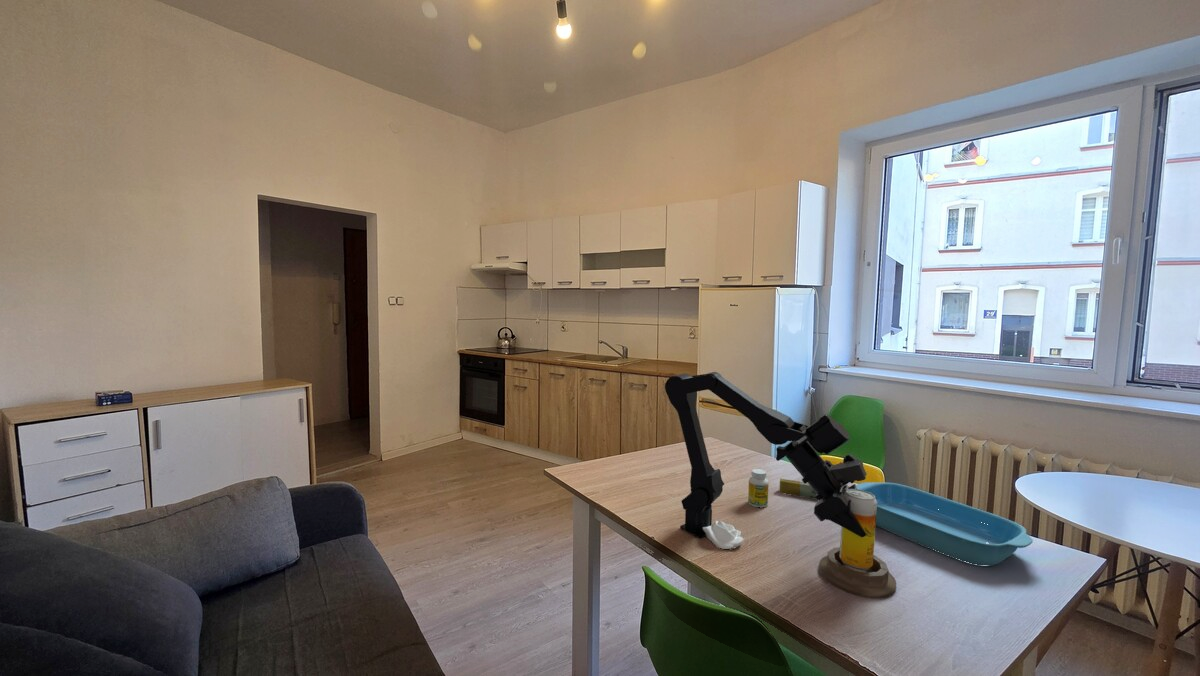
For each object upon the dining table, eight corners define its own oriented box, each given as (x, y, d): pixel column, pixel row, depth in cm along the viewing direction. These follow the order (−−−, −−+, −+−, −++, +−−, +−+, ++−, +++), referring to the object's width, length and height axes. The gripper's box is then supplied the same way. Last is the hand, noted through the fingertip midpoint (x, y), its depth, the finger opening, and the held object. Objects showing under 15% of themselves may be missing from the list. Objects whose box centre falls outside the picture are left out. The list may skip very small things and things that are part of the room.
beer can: (874, 575, 92) (879, 502, 91) (839, 567, 94) (844, 496, 93) (870, 560, 97) (875, 491, 96) (838, 553, 100) (842, 485, 99)
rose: (695, 523, 109) (710, 509, 117) (694, 541, 109) (709, 525, 117) (737, 536, 103) (750, 520, 111) (736, 555, 104) (749, 538, 111)
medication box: (822, 497, 137) (823, 484, 137) (822, 500, 135) (823, 487, 134) (779, 490, 142) (779, 477, 142) (778, 493, 140) (779, 480, 139)
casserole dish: (1045, 558, 105) (1048, 528, 105) (1006, 587, 94) (1009, 553, 93) (879, 499, 137) (880, 476, 136) (834, 515, 125) (836, 490, 125)
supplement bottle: (762, 499, 134) (763, 467, 133) (771, 507, 129) (772, 474, 128) (744, 500, 133) (745, 468, 133) (753, 508, 128) (754, 475, 127)
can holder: (878, 607, 86) (880, 589, 86) (806, 572, 97) (807, 556, 97) (907, 581, 95) (908, 564, 94) (837, 552, 106) (838, 537, 105)
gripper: (836, 456, 88) (900, 529, 83) (846, 435, 104) (901, 495, 99) (790, 486, 93) (848, 556, 88) (807, 461, 109) (856, 520, 104)
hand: (865, 529), depth 95 cm, fingers closed on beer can, 6 cm apart
